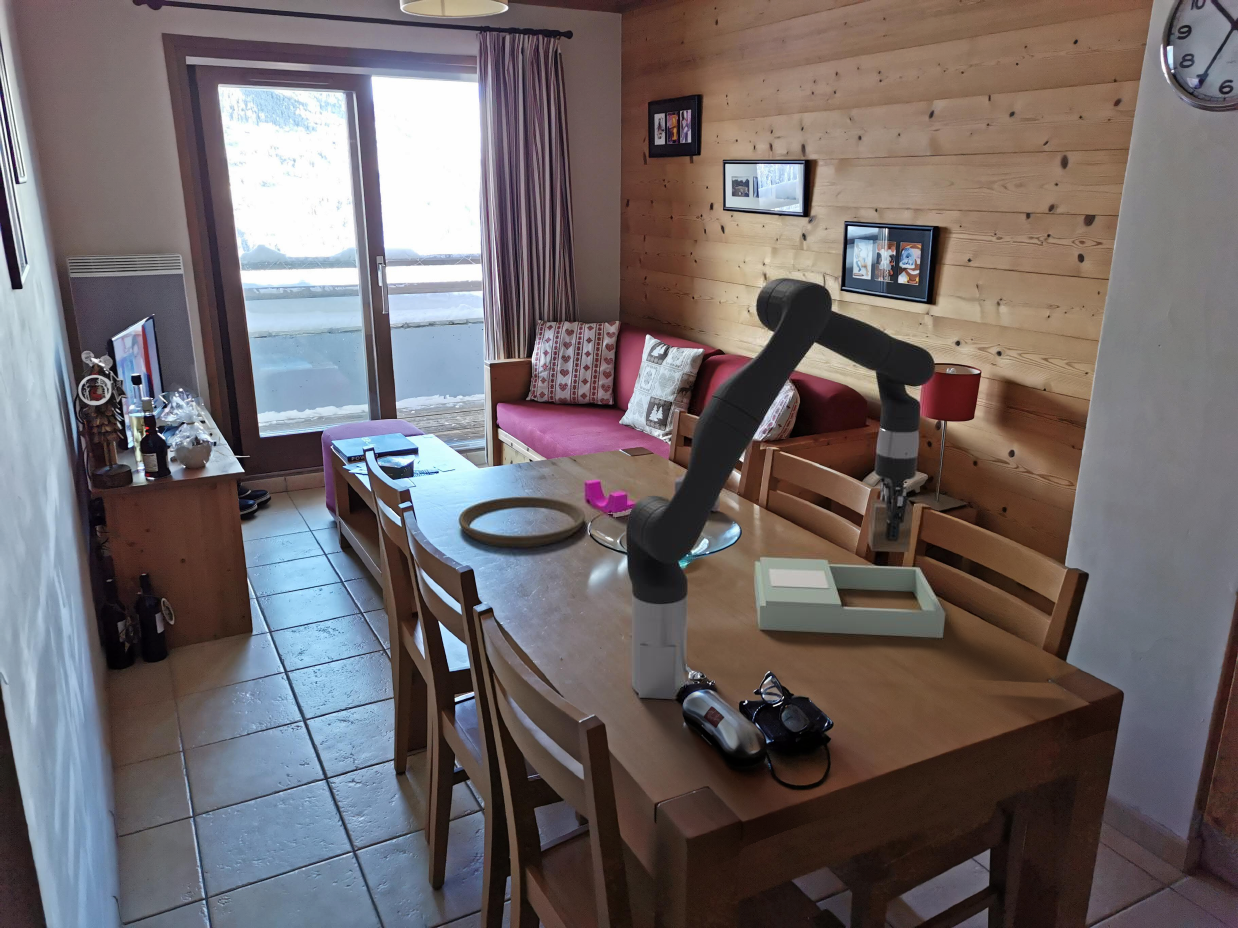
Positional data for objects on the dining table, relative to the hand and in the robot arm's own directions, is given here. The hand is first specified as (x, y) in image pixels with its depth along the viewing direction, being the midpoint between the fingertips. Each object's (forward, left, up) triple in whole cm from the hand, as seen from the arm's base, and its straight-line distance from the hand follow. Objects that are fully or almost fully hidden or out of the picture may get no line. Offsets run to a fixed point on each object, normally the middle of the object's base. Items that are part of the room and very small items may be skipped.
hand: (889, 535), depth 174 cm
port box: (0, +8, -16) cm, 18 cm away
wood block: (0, 0, -2) cm, 2 cm away
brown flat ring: (+38, +81, -16) cm, 91 cm away
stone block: (+54, +38, -16) cm, 68 cm away
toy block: (+53, +61, -16) cm, 83 cm away
